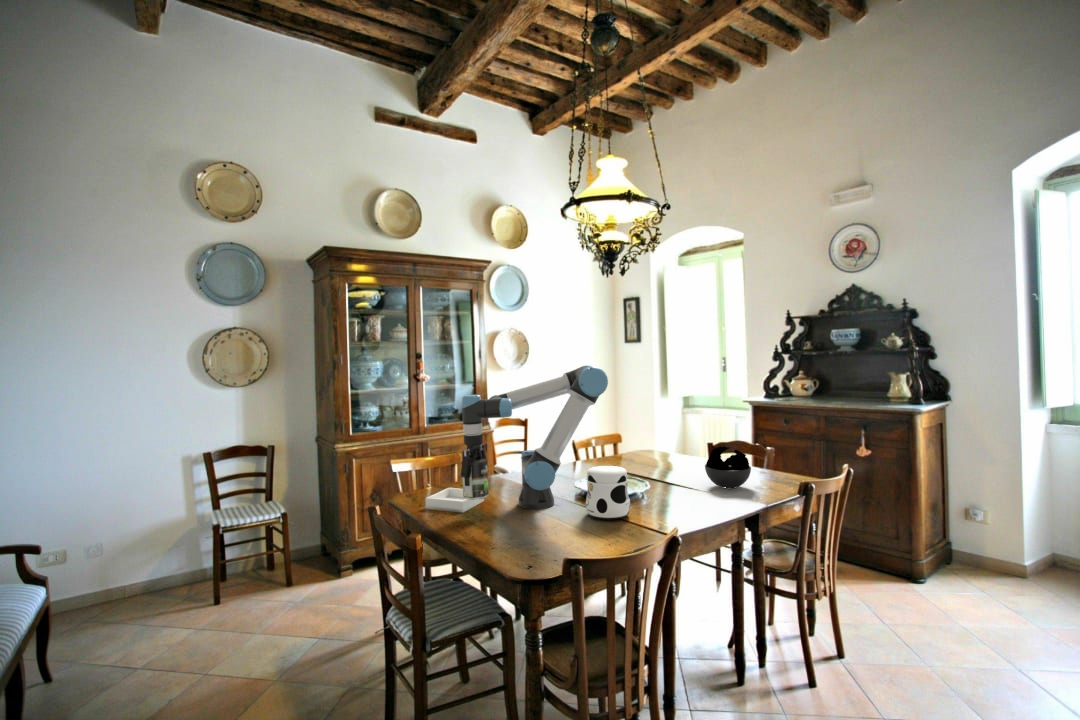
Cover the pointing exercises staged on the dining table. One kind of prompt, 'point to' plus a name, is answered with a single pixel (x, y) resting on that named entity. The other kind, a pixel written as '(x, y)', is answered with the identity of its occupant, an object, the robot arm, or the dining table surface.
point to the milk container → (607, 492)
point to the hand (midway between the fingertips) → (475, 490)
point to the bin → (451, 501)
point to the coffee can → (478, 480)
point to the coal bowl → (727, 468)
